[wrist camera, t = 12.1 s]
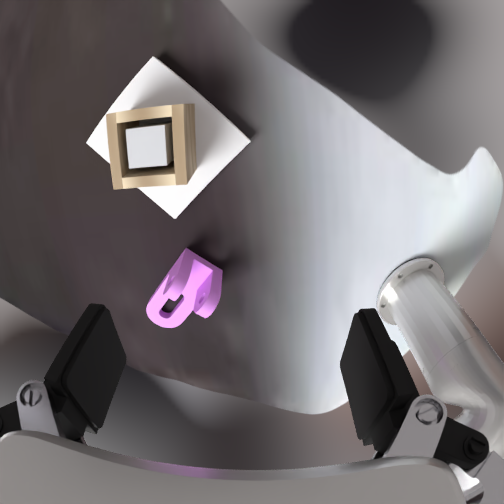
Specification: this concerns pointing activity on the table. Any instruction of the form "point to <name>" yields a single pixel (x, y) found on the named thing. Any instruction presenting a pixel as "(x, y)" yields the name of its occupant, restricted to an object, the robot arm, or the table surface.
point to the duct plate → (206, 131)
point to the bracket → (186, 290)
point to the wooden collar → (155, 175)
